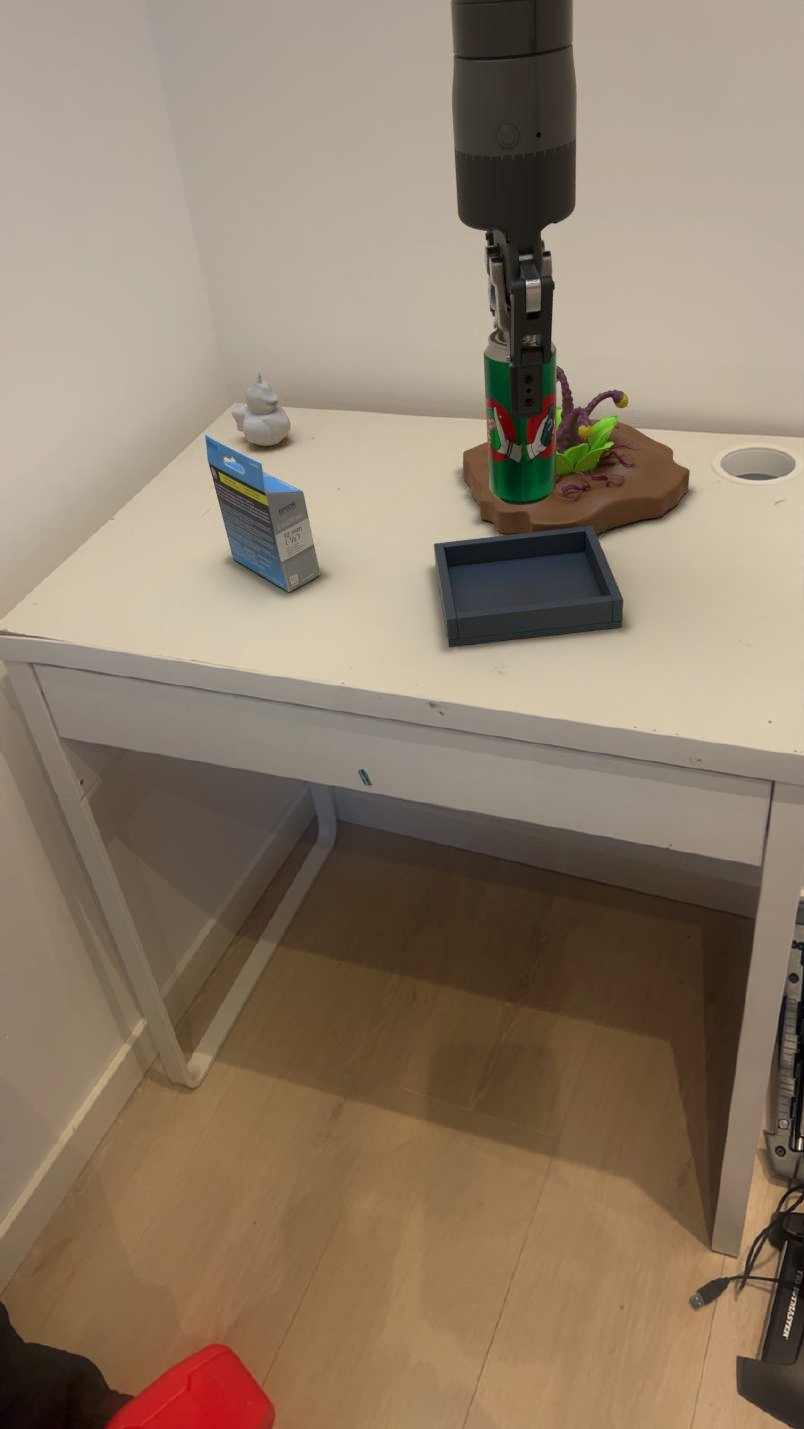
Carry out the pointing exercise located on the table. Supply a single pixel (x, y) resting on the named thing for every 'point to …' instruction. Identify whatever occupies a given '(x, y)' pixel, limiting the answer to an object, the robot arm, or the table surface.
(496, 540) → the container
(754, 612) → the table surface
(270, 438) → the rubber duck
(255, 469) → the label tape box
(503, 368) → the soda can
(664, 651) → the table surface
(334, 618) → the table surface
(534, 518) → the plant
